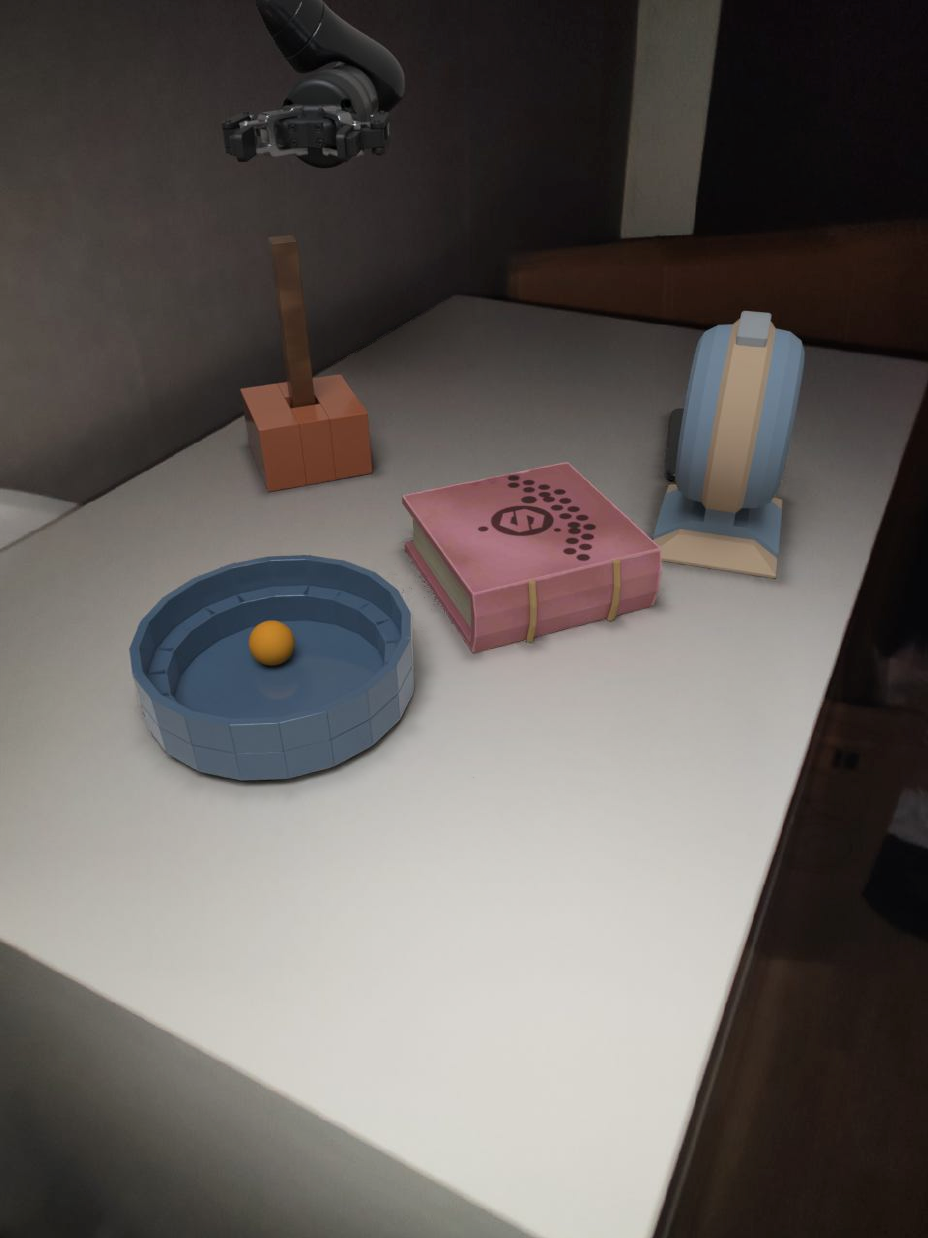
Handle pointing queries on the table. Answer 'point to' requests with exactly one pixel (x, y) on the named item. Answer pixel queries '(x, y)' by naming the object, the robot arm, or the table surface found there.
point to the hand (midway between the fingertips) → (290, 148)
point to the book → (529, 555)
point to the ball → (271, 643)
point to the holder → (307, 434)
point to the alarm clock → (733, 449)
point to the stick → (292, 319)
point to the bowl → (274, 667)
